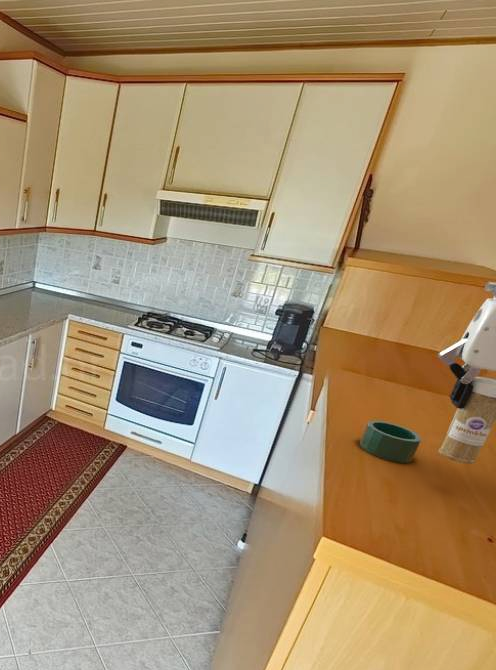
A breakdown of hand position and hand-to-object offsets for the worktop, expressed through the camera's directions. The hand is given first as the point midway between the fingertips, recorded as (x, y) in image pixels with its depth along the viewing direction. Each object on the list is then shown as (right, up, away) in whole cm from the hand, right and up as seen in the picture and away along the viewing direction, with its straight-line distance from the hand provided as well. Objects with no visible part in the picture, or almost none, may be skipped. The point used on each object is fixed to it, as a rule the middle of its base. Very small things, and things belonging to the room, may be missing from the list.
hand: (479, 408), depth 76 cm
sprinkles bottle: (-1, -8, +3) cm, 9 cm away
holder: (-1, -10, +17) cm, 19 cm away
